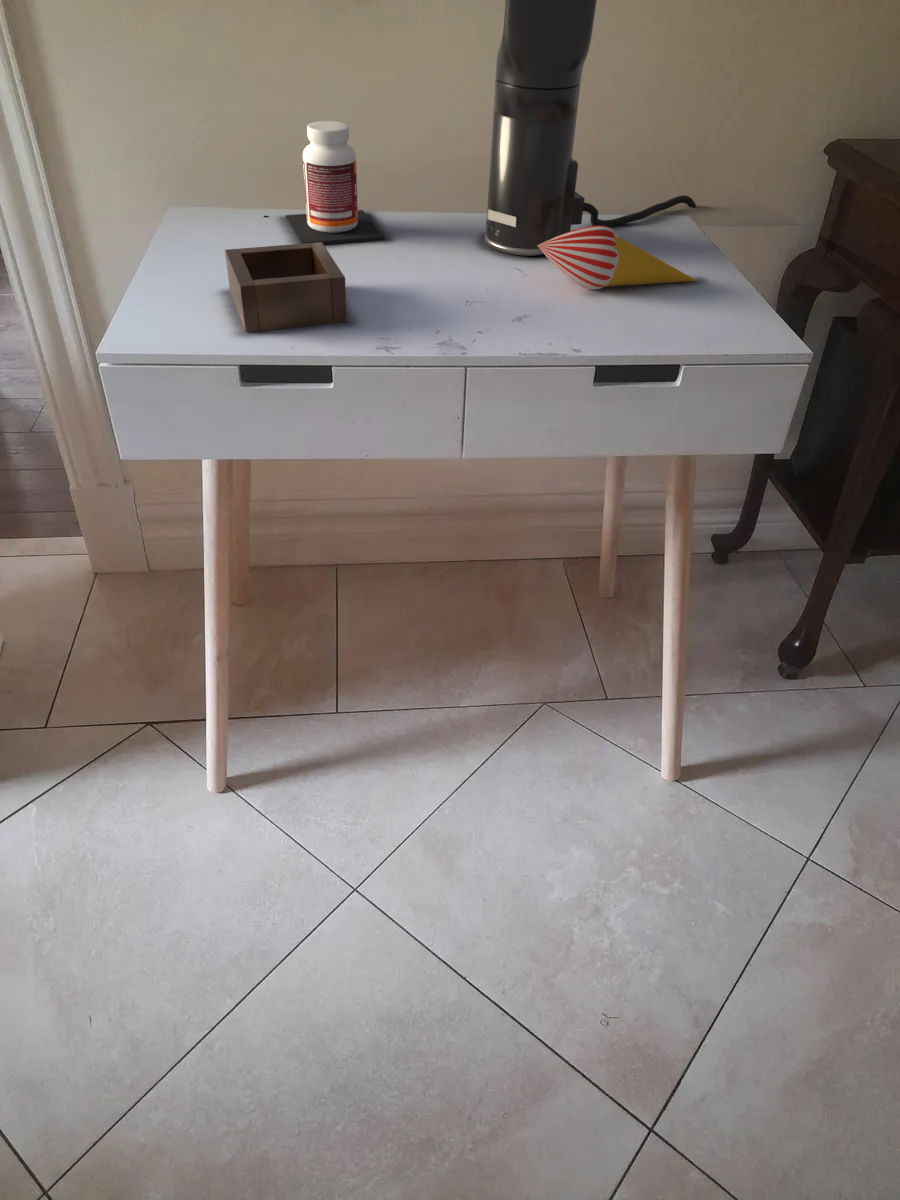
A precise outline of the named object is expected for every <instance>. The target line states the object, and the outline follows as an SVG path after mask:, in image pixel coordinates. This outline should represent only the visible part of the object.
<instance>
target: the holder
mask: <svg viewBox="0 0 900 1200" xmlns="http://www.w3.org/2000/svg"><path fill="white" fill-rule="evenodd" d="M224 255H225V263H226V270H227V279H228V285H229V293H230V296H231V299H232V301H233V304H234V306H235V309H236V311H237V314H238V316H239V319H240V322H241V324H242V327H243V330H244V331H245V333H254V332H264V331H273V330H282V329H293V328H303V327H312V326H321V325H333V324H340V323H341V324H342V323H347V322H348V316H347V315H348V314H347V313H348V311H347V291H346V288H347V287H346V277H345V275H344V274H343V272H342V270H341V269H340V267H339V266H338V265H337V263H336V261H335V259H334V258H333V256H332V255H331V253H330V251H328V249H327V247H326V246H325V244H323V243H322V242H317V243H305V244H300V243H293V244H280V245H267V246H255V247H254V246H253V247H243V248H242V247H241V248H229V249H224Z"/></svg>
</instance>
